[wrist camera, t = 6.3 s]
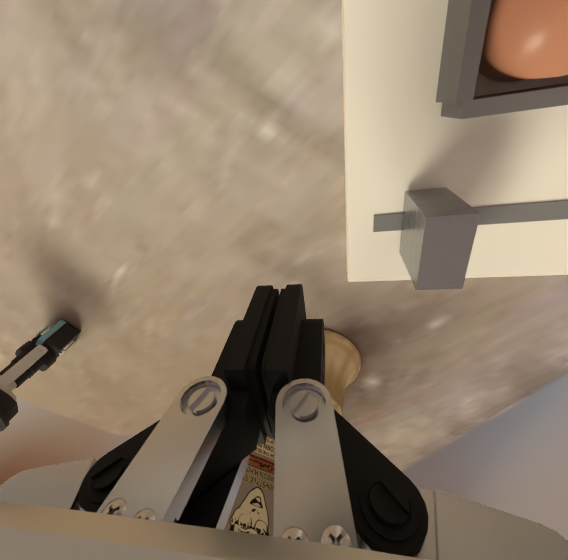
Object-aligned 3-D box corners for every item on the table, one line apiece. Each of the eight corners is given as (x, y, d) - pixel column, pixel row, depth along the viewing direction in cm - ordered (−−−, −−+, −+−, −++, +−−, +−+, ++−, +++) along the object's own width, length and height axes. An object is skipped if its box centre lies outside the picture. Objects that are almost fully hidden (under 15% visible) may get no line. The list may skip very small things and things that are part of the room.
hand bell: (380, 354, 24) (438, 656, 11) (329, 399, 29) (326, 653, 16) (298, 312, 23) (253, 594, 10) (258, 366, 28) (189, 610, 14)
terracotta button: (613, -72, 9) (714, -135, 7) (567, 73, 12) (632, 65, 9) (481, -41, 10) (530, -88, 8) (460, 89, 12) (493, 86, 10)
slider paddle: (446, 187, 14) (480, 213, 11) (435, 249, 16) (462, 288, 13) (404, 191, 15) (426, 217, 11) (399, 251, 17) (416, 289, 13)
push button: (72, 362, 32) (-19, 454, 24) (27, 335, 30) (-87, 422, 22) (95, 337, 29) (-1, 432, 21) (46, 305, 27) (-79, 394, 19)
